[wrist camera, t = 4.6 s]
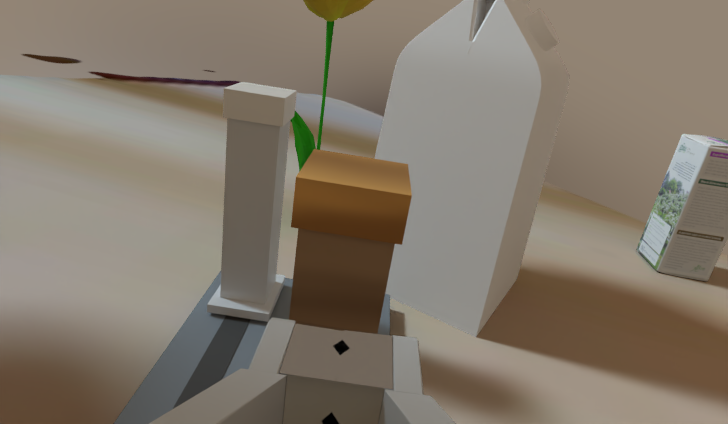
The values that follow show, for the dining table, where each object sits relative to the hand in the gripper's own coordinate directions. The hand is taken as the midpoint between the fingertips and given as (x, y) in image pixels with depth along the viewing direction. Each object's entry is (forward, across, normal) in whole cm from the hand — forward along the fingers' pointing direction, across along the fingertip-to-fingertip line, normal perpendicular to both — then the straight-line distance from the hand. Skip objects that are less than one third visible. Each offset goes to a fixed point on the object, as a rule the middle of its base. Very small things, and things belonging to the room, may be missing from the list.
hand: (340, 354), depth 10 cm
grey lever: (+20, +7, +12) cm, 24 cm away
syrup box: (+41, -35, +14) cm, 56 cm away
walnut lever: (+7, +1, +12) cm, 14 cm away
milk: (+29, -8, +14) cm, 33 cm away
